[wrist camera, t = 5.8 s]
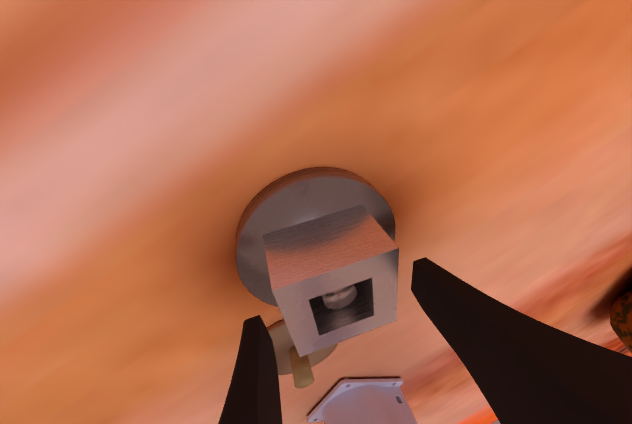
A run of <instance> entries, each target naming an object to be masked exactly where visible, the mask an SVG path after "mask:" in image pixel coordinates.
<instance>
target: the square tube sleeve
mask: <svg viewBox="0 0 632 424" xmlns="http://www.w3.org/2000/svg"><path fill="white" fill-rule="evenodd" d="M263 241H264V247H265V253H266V259H267V265H268V271H269V277H270V282H271V288H272V292H273V295H274V297H275V299H276V302H277V304H278V307H279V309H280V311H281V314H282V316H283V318H284V321H285V323H286V326H287V328H288V330H289V333H290V335H291V337H292V340H293V342H294V344H295V347H296V349H297V352H298V354H299V356H300V357H302V356H304V355H307V354H310V353H312V352H315V351H318V350H320V349H323V348H325V347H328V346H331V345H333V344H336V343H339V342H341V341H344V340H347V339H349V338H352V337H354V336H357V335H360V334H362V333H365V332H368V331H370V330H373V329H375V328H378V327H381V326H383V325H386V324H389V323H391V322H394V321H396V313H397V285H398V257H399V248H398V246H397V245H396V244H395V243H394V242H393V240H392V239H391V238H390V237H389V236H388V235H387V233H386V232H385V231H384V230H383V229H382V227H381V226H380V225H379V224H378V223H377V222H376V220H375V219H374V218H373V217H372V216H371V214H370V213H369V212H368V211H367V210H366V208H365V207H364V206H363V205H362V204H361V205H358V206H355V207H352V208H348V209H345V210H342V211H338V212H335V213H332V214H329V215H325V216H322V217H319V218H316V219H312V220H309V221H306V222H303V223H299V224H296V225H293V226H289V227H286V228H283V229H280V230H276V231H273V232H270V233H267V234H263ZM352 284H354V286H355V288H356V290H357V295H356V297H355V299H354V300H353V301H352V302H351V303H350V304H348V305H347V306H345V307H342V308H339V309H330V308H328V307H326V306H325V304H324V301H323V299H322V296H321V295H323V294H326V293H329V292H332V291H335V290H338V289H340V288H343V287H346V286H349V285H352Z"/></svg>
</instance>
